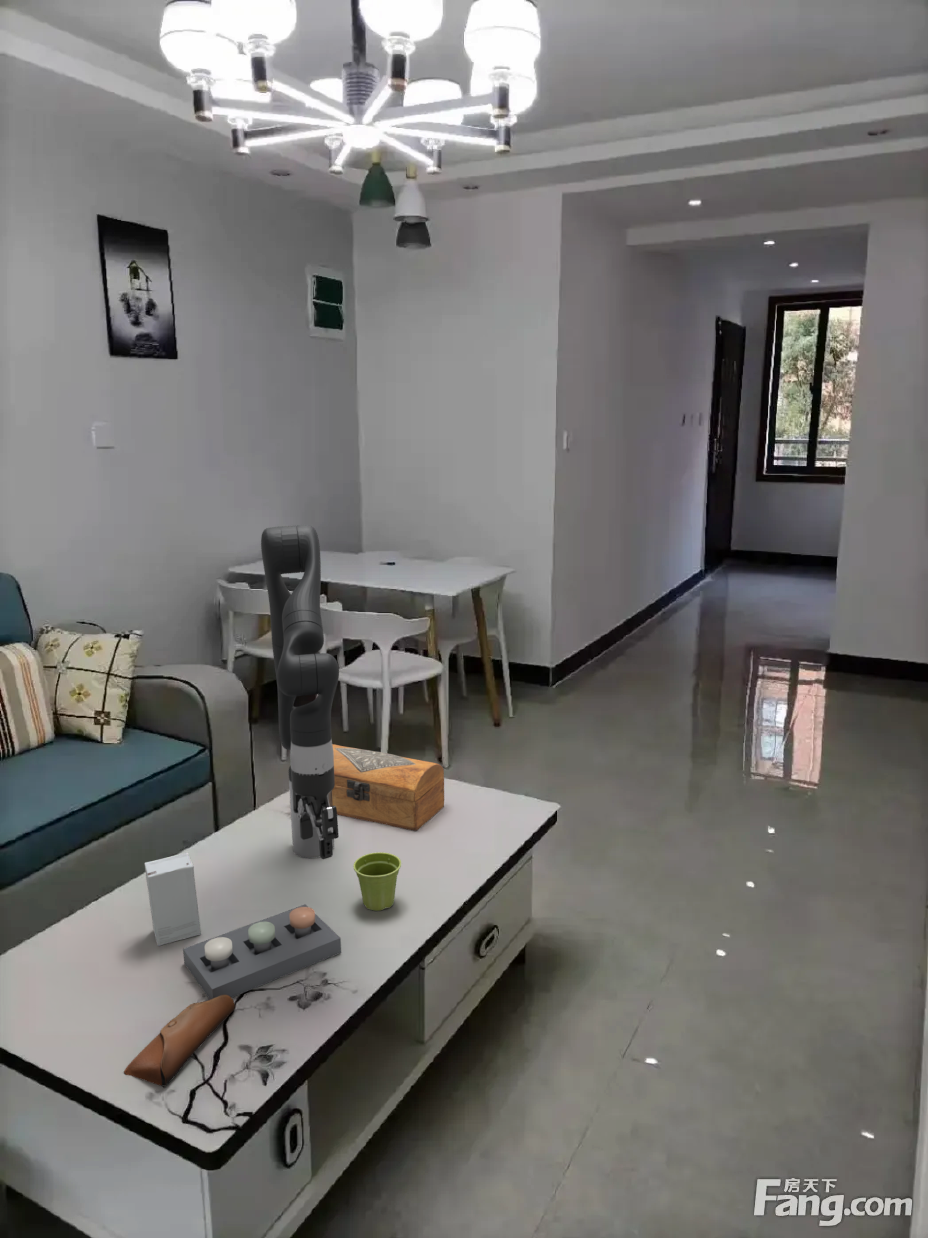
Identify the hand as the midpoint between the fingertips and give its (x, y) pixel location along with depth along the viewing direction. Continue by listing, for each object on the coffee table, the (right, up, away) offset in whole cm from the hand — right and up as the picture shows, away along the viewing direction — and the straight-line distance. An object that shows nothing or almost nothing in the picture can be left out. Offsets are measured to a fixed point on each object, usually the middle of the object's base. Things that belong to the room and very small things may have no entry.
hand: (316, 847), depth 160 cm
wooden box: (+5, -6, +59) cm, 59 cm away
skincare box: (-28, -18, +7) cm, 34 cm away
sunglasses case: (-18, -26, -21) cm, 38 cm away
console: (-10, -20, 0) cm, 22 cm away
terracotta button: (-3, -17, +4) cm, 18 cm away
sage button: (-10, -18, -1) cm, 21 cm away
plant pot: (+10, -16, +17) cm, 25 cm away
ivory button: (-16, -19, -5) cm, 26 cm away
